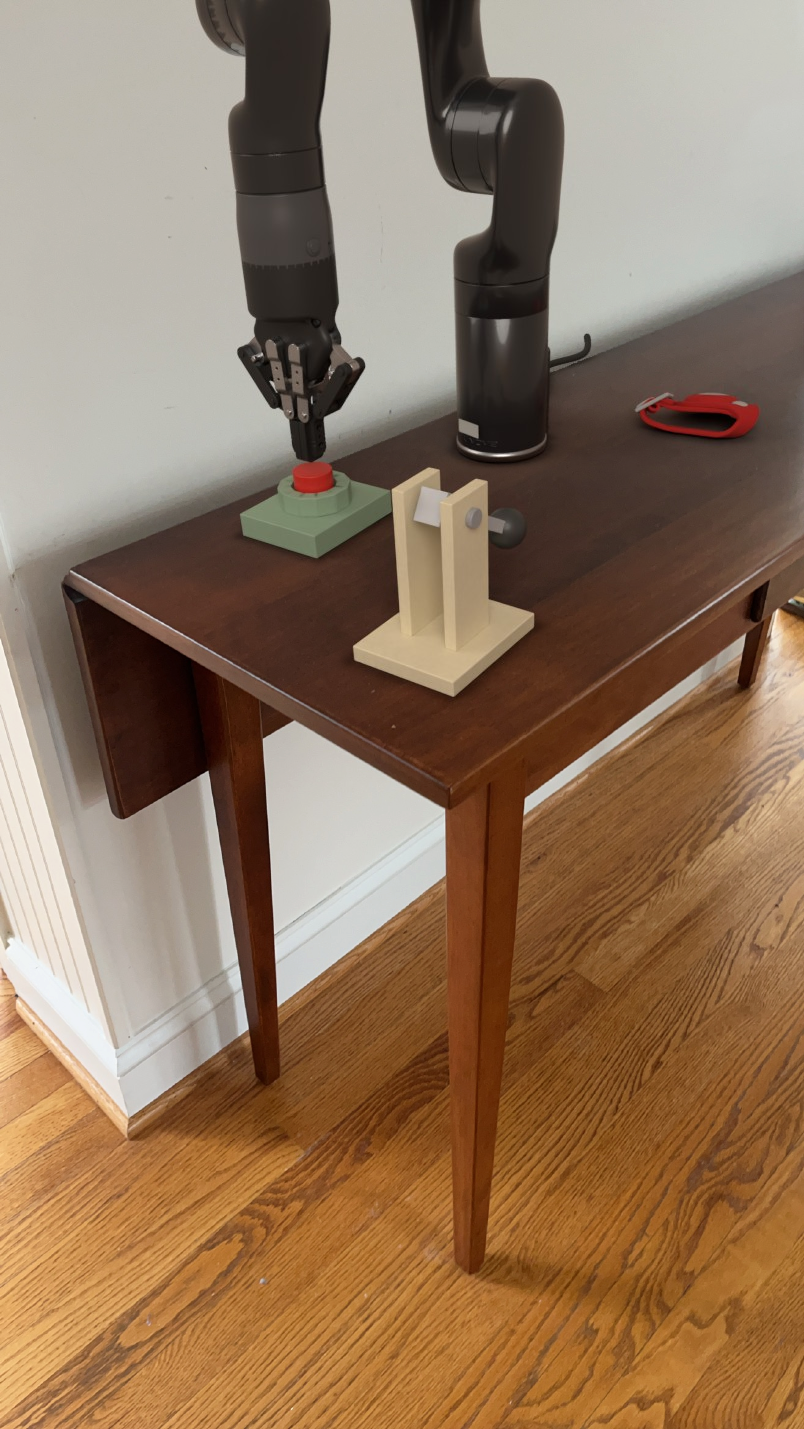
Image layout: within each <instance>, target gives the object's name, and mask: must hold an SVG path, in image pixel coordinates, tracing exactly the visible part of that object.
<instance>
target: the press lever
mask: <svg viewBox="0 0 804 1429" xmlns="http://www.w3.org/2000/svg"><path fill="white" fill-rule="evenodd" d="M451 494H452V493H451V492H448V491H443V490H441V491H440V490H436V489H432V488H428V487H424V486H422V488H421V492H420V496H419V499H418V503H417V507H416V511H415V515H414V519H413V520H414V521H417V522H421V523H424V524H428V525H432V526H436V527H439V528H441V520H440V502H441V501H442V500H444V499H445V498H447V497H448V496H450V495H451ZM527 532H528V524H527V520H526V518H525V517H524V515H523V514H522V513H521V512H520V511H519V510H517V509H515V508H513V507H509V506H507V507H505V506H504V507H500V508H497V509H496V510H494V511H493V512H492V513H491V514H490V515H488V542H489V543H490V544H492V545H493V546H494V547H496V548H498V549H501V550H511V549H514V548H516V547H518V546H519V545H520V544H522V542H523V541H524V540H525V538H526V536H527Z"/></svg>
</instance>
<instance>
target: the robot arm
mask: <svg viewBox="0 0 804 1429" xmlns="http://www.w3.org/2000/svg"><path fill="white" fill-rule="evenodd" d="M409 1H410V6H411V12H412V18H413V23H414V29H415V38H416V44H417V52H418V59H419V67H420V68H419V69H420V76H421V77H420V78H421V83H422V84H421V86H422V92H423V93H422V94H423V101H424V102H423V103H424V109H425V118H426V119H425V120H426V124H427V125H426V126H427V133H428V138H429V144H430V148H431V152H432V157H433V160H434V163H435V166H436V169H437V170H438V172H439V175H440V177H441V178H442V179H443V181H444V182H445V183H446V184H447V186H449V187H450V188H452V189H454V190H456V191H459V192H461V193H467V194H475V195H476V194H477V195H484V196H485V195H486V196H492V205H491V207H492V208H491V216H490V223H489V225H488V226H487V227H486V229H484V230H483V231H481V232H477V233H475V234H472V235H470V236H467V237H464V238H463V239H461V240H460V241H458V242H457V243H456V244H455V246H454V249H453V252H452V256H453V257H452V264H453V265H452V266H453V267H452V268H453V270H452V272H453V273H452V274H453V308H454V312H453V313H454V347H455V349H454V350H455V383H456V385H455V387H456V388H455V389H456V390H455V391H456V429H457V432H456V434H457V435H456V449H457V451H458V453H460V454H461V455H462V456H464V457H466V458H469V459H472V460H474V461H479V462H485V463H511V462H520V461H524V460H527V459H532V458H533V457H535V456H537V455H539V454H541V453H542V452H544V451H545V449H546V447H547V438H548V437H549V419H550V417H549V415H550V413H549V412H550V385H551V384H550V382H551V380H550V379H551V369H552V368H554V367H557V366H561V365H562V366H563V365H566V364H570V363H574V362H577V361H579V360H582V359H584V358H586V357H587V356H588V355H589V353H590V352H591V349H592V338H591V337H592V336H591V335H590V333H587V332H586V333H585V334H584V335H583V342H584V346H583V349H582V350H581V351H579V352H577V353H574V354H571V355H567V356H563V357H558V358H555V359H552V360H551V348H550V347H549V328H550V327H549V323H550V288H551V287H550V286H551V285H550V282H551V261H552V254H553V251H554V247H555V244H556V241H557V240H556V239H557V236H558V231H559V222H560V210H561V209H560V207H561V194H562V182H563V170H564V159H565V143H566V142H565V141H566V140H565V139H566V138H565V137H566V136H565V130H566V129H565V128H566V127H565V117H564V112H563V107H562V103H561V100H560V97H559V95H558V93H557V91H556V90H555V88H554V87H553V86H552V85H551V84H550V83H549V82H547V81H545V80H543V79H541V78H535V77H518V76H517V77H516V76H515V77H514V76H513V77H508V76H507V77H505V76H503V77H502V76H491V75H490V72H489V69H488V65H487V60H486V54H485V49H484V41H483V32H482V20H481V5H482V4H481V2H482V0H409ZM194 5H195V10H196V14H197V17H198V20H199V24H200V26H201V28H202V30H203V31H204V33H205V35H206V37H207V39H209V40H210V42H211V43H212V44H213V45H214V46H215V47H216V48H217V49H219V50H220V51H222V52H224V53H226V54H228V55H231V56H234V57H238V58H239V57H240V58H244V77H245V78H244V96H243V100H242V99H241V101H239V102H238V103H236V104H235V105H234V106H233V107H232V108H231V110H230V111H229V113H228V118H227V134H228V144H229V146H228V147H229V151H230V152H229V155H230V161H231V170H232V176H233V184H234V190H235V192H234V193H235V212H236V213H235V220H236V221H235V222H236V231H237V238H238V239H237V240H238V245H239V254H240V261H241V270H242V277H243V283H244V290H245V299H246V305H247V306H246V308H247V311H248V313H249V314H250V316H252V317H253V318H254V319H255V321H254V325H253V335H254V336H253V337H252V339H250V341H249V342H248V343H246V344H244V345H241V346H239V347H238V348H237V350H236V354H237V357H238V359H239V360H240V362H241V364H242V365H243V367H244V368H245V370H246V372H247V373H248V375H249V376H250V378H251V379H252V381H253V382H254V384H255V386H256V387H257V389H258V390H259V392H260V394H261V395H262V397H263V398H264V400H265V402H266V403H267V405H268V406H269V407H270V408H271V409H272V410H276V409H279V410H281V411H282V413H283V415H284V417H285V418H286V419H288V424H289V432H290V433H289V434H290V439H291V447H292V449H293V452H294V454H295V457H296V459H297V460H299V461H303V462H305V463H308V462H316V461H317V460H319V459H321V458H323V456H324V454H325V453H326V450H327V441H326V429H325V428H326V427H325V418H326V417H328V416H330V415H332V414H334V413H336V412H338V411H340V410H341V409H342V408H343V406H344V404H345V403H346V401H347V399H348V398H349V396H350V395H351V393H352V391H353V390H354V388H355V386H356V385H357V383H358V381H359V379H360V378H361V376H362V375H363V373H364V371H365V369H366V362H365V360H364V359H363V358H362V357H361V356H356V357H353V358H352V356H351V355H350V354H349V352H348V351H346V349H344V347H342V335H341V332H340V330H339V328H338V325H337V321H336V315H337V311H338V308H339V305H340V295H339V294H340V293H339V283H338V270H337V259H336V258H337V257H336V246H335V234H334V223H333V222H334V221H333V213H332V209H331V208H332V207H331V205H330V200H329V194H328V188H327V184H326V183H327V180H326V171H325V169H326V168H325V156H324V144H323V135H322V127H321V124H322V123H321V121H322V112H323V106H324V101H325V94H326V87H327V86H326V85H327V75H328V67H329V58H330V56H329V55H330V49H331V47H330V46H331V35H332V34H331V33H332V15H331V14H332V11H331V1H330V0H194ZM271 382H272V383H273V384H274V386H273V385H272V383H271Z"/></svg>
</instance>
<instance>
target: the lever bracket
mask: <svg viewBox="0 0 804 1429" xmlns="http://www.w3.org/2000/svg"><path fill="white" fill-rule="evenodd" d="M422 486H424V487H428V488H432V489H436V490H440V491H442V490H441V470H440V469H437V468H433V467H427V468H425V469H423V470H422V471H420V472H418V473H416V474H415V475H413V476H412V477H410V478H409V479H406V480H405V481H403V482H402V483H400V484H399V485H396V486H395V487H393V488H392V489H391V504H392V517H393V530H394V532H393V533H394V544H395V545H394V546H395V547H394V548H395V558H396V559H395V560H396V576H397V592H398V605H399V606H398V607H399V612H397V613H396V614H394V615H393V616H392V617H391V618H389V619H388V620H387V621H385V622H384V623H382V624H381V625H379V626H378V627H376V628H375V629H374V630H373V631H371V632H370V633H369V634H367V635H366V636H365V637H363V638H362V639H361V640H359V641H358V642H357V643H355V644H353V646H352V650H353V660H354V661H355V662H358V663H361V664H363V665H366V666H369V667H372V668H373V669H377V670H380V671H382V672H385V673H388V674H389V675H390V674H391V675H393V676H396V677H398V678H401V679H404V680H407V681H409V682H412V683H415V684H417V685H420V686H423V687H426V688H428V689H431V690H433V691H436V692H439V693H442V694H444V695H447V696H449V697H452V698H454V697H456V696H457V695H458V694H459V693H460V692H461V691H463V690H464V689H465V688H466V687H467V686H468V685H469V684H471V683H472V682H473V681H474V680H475V679H476V678H478V677H479V676H480V675H481V674H482V673H483V672H485V671H486V670H487V669H488V668H489V667H490V666H491V665H492V664H493V663H495V662H496V661H497V660H498V659H499V658H501V657H502V656H503V655H504V654H506V652H507V651H509V650H510V649H511V648H512V647H513V646H514V645H515V644H517V643H518V642H519V641H520V640H521V639H522V638H524V637H525V636H526V635H527V634H528V633H530V631H532V630H533V629H534V627H535V613H534V612H532V611H529V610H525V609H522V608H518V607H516V606H512V605H509V604H505V603H502V602H499V601H496V600H492V599H489V539H488V516H489V483H488V481H487V480H485V479H479V478H475V479H473V480H471V481H470V482H468V483H467V484H465V485H464V486H461V488H459V489H457V490H456V491H454V492H453V493H451V495H450V496H448V497H447V498H445V499H444V500H442V501H441V502H440V520H441V528H439V527H436V526H432V525H428V524H424V523H421V522H417V521H414V520H413V519H414V515H415V511H416V507H417V503H418V499H419V496H420V492H421V488H422Z"/></svg>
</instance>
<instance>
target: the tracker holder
mask: <svg viewBox="0 0 804 1429" xmlns="http://www.w3.org/2000/svg"><path fill="white" fill-rule="evenodd" d="M674 397H675V395H674V393H670V392H664V393H662V394H660V395H658V396H656V397H654V396H652V397H651V396H650V397H648V398H647V399H645V400H642V401H641V402H640V403H638V404H637V405H636V407H635V408H634V412H635V413H636V414H639V416H640V419H641V420H642V422H644V423H645V424H646V425H648V426H650V427H653V428H656V429H659V430H662V431H667V432H670V433H677V434H684V435H693V436H701V437H708V438H715V439H716V438H717V439H719V438H721V439H723V438H725V439H729V438H730V439H731V438H739V437H742V436H744V435H747V433H748V432H749V431H751V429H752V428H753V427H754V426H755V425H756V423H757V421H758V419H759V416H760V407H759V406H758V405H757V404H755V403H754V404H753V403H747V402H745V401H742V400H740V399H738V398H737V397H735V396H733V395H730V394H726V393H722V392H721V393H720V392H701V393H693V394H689V395H688V396H686V397H685V398H684V399H683V400H675V399H674ZM661 408H664V409H667V410H671V411H675V412H680V413H681V412H682V413H688V412H690V413H711V414H723V415H727V416H729V417H731V418H733V419H736V421H735V422H734V423H733V424H732V426H731V427H730V428H728V429H726V430H723V431H721V430H719V431H718V430H713V429H712V430H711V429H703V428H695V427H694V428H693V427H688V426H679V425H671V424H666V423H662V422H659V421H656V420H654V419H652V418H651V417H650V416H649V415H648V414H649V413H650V414H656V413H657V412H658V411H660V410H661Z"/></svg>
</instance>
